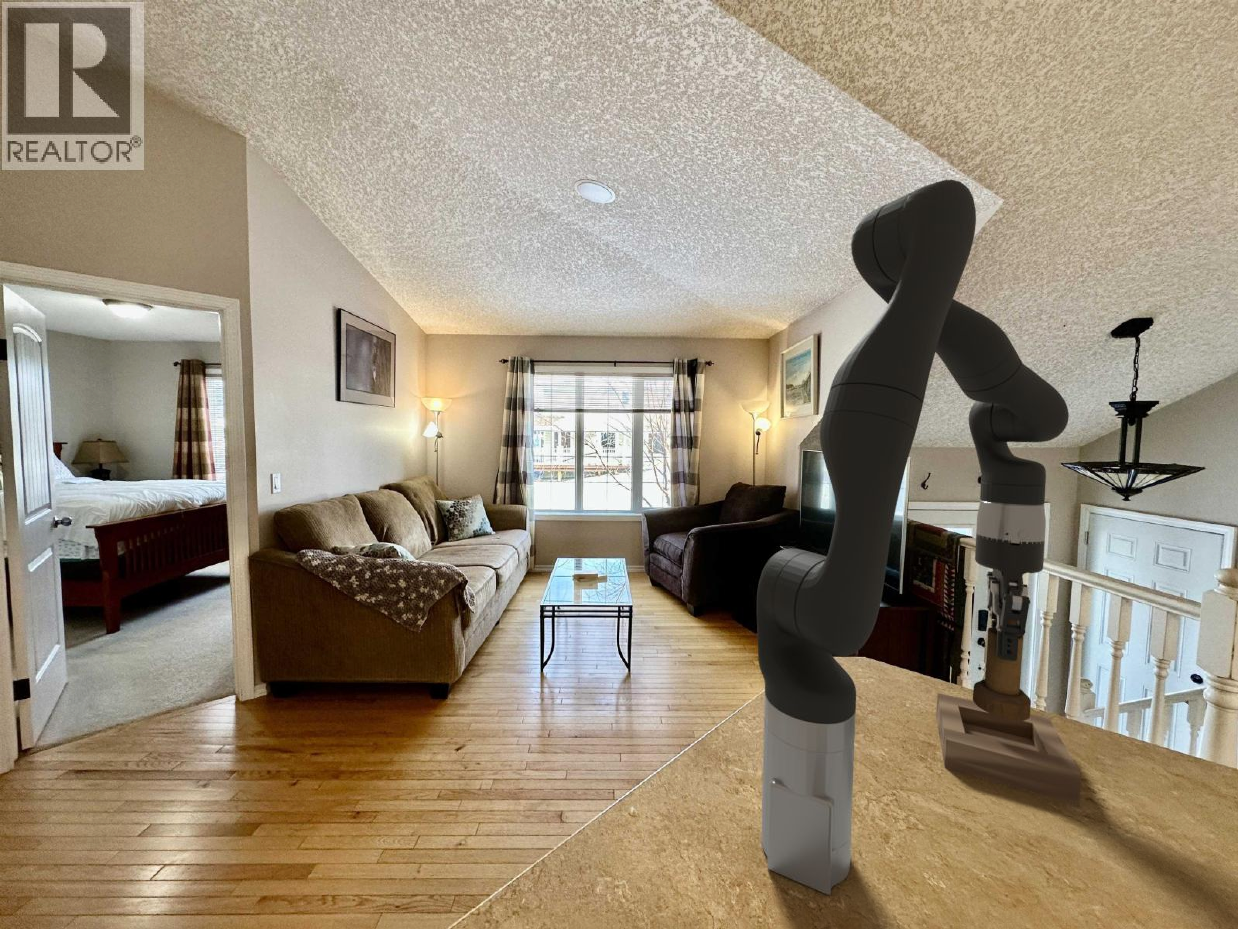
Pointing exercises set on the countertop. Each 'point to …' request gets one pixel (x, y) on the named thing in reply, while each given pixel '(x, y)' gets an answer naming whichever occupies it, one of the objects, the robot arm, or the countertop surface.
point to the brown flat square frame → (1006, 750)
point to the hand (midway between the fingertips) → (1003, 652)
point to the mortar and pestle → (1002, 683)
